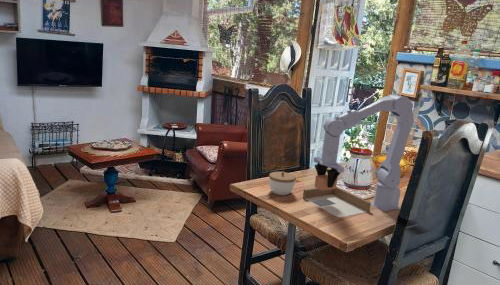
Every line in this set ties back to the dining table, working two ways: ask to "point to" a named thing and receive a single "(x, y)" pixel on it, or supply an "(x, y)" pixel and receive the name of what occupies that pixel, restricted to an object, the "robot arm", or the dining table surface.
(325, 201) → the pad
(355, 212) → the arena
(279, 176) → the lidded jar
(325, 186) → the bar
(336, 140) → the robot arm
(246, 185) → the dining table surface
